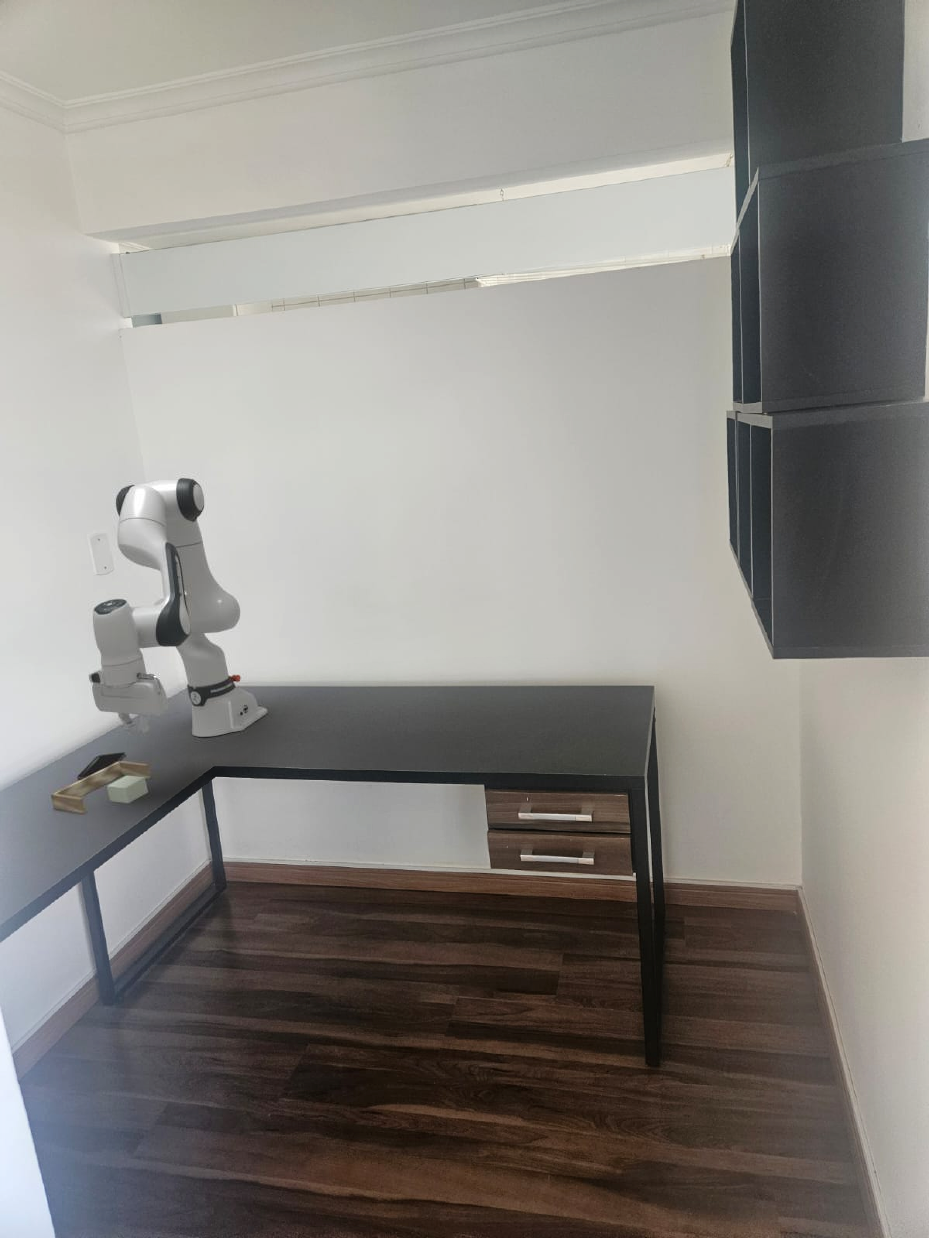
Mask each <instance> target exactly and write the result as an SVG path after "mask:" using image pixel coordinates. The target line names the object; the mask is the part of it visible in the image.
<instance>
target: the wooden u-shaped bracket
mask: <svg viewBox="0 0 929 1238" xmlns="http://www.w3.org/2000/svg"><path fill="white" fill-rule="evenodd" d="M122 776H123V777H125V776H137V777H145V780H146V779H147V780H149V779H151V778H152V775H151V771H150V766H149V764H148V763H142V762H141V763H140V762H132V761H126V760H125V761H124V760H122V761H119V762H116V763H114V764H112V765H110V766H108V767H106V768H104V769H102V770H100V771H98V772H96V773H94V774H92V775H90V776H88V777H86V778H84V779H82V780H78V781H76V782H74V783H71V784H70V785H68V786H66V787H64V788H61V789H60V790H58V791H55V792H54V793H52V794H50V798H51V801H52V806H53V809H54V810H55V809H56V810H60V811H66V812H73V813H76V814H77V813H78V814H85V813H87V811H86V804H85V802H84V798H83V796H85V795H86V794H88V793H90V792H92V791H94V790H97V789H99V788H100V787H102V786H104V785H107V784H108V783H110V782H111V781H114V780H116V779H117V778H120V777H122Z"/></svg>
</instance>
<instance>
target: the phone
mask: <svg viewBox="0 0 929 1238" xmlns="http://www.w3.org/2000/svg"><path fill="white" fill-rule="evenodd" d="M125 758H126V752H124V751H123V752H116V753H108V754H101V755H97V756H96V757H94V758H93V759H92V761H90V763H89V764H88V765H87V766H86V767H85V768H84V769H83V770H82V771H81V772H80V773H79V774H78V775H77V777H76V778H77V780H78V781H80V780H82V779H84V778H86V777H88V776H90V775H92V774H94V773H96V772H98V771H100V770H102V769H104V768H106V767H108V766H110V765H112V764H114V763H116V762H119V761H124V759H125Z"/></svg>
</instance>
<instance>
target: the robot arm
mask: <svg viewBox="0 0 929 1238" xmlns="http://www.w3.org/2000/svg"><path fill="white" fill-rule="evenodd" d="M115 508H116V511H117V515H118V517H119V520H118V527H117V535H116V537H117V538H116V539H117V540H116V541H117V547H118V549H119V551H120V553H121V554H122V555H123V556H124V557H125V558H126V559H127V560H129V561H130V562H132V563H134V564H136V565H139V566H142V567H146V568H150V569H152V570H153V569H154V570H157V571H159V572H160V574H161V582H162V583H161V584H162V591H163V592H162V593H163V598H160V599H158V600H156V601H155V602H154V604H153V605H146V606H135V607H134V606H131V605H130V604H129V602H128V601H127V600H126V599H123V598H116V599H115V598H114V599H109V600H107V601H104V602H103V601H102V602H100V603H99V604H97V605H96V606H95V607H94V608H93V609H92V627H93V632H94V638H95V639H94V640H95V643H96V644H95V645H96V646H97V649H98V651H99V653H100V665H101V668H100V669H98V670H95V671H94V672H92V673H89V674H88V680H89V682H90V683H91V690H92V696H93V700H94V704H95V706H96V708H97V709H98V711H99V712H102V713H103V712H105V713H115V714H116V713H117V715H118V718H119V719H120V721H121V722H122V724H124V725H123V726H124V730H125V731H127V732H128V731H129V732H132V731H135V730H136V729H137V728H138V732H139V733H147V732H149V731H150V725H149V722H150V718H151V716H153V717H159V716H161V715H163V714H165V713H167V712H168V711H169V708H170V703H169V700H168V697H167V694H166V691H165V688H164V685H163V684H162V682H161V681H160V679H159V678H158V677H157V676H155V674H153V673H147V668H146V664H145V660H144V655H143V653H142V651H141V649H150V648H158V647H160V648H161V647H163V648H164V647H165V648H166V647H167V648H168V647H175V649H176V650H177V652H178V653H179V656H180V657H181V660H182V664H183V667H184V671H185V676H186V679H187V685H186V687H187V693H188V697H189V699H190V704H191V714H192V715H191V720H192V722H191V723H192V724H191V726H192V728H191V734H192V736H195V737H200V738H204V737H207V738H208V737H217V736H221V735H225V734H229V733H233V732H241V731H244V730H245V729H246V728H247V727H249V726H250V725H252V724H254V723H255V722H256V721H258V720H259V719H261V718H262V717H263V716H265V715H266V714H268V710H267V708H265V707H262V706H258V705H259V704H258V702H257V699H256V697H255V696H254V694H253V693H251V692H249V691H246V690H244V689H242V688H240V687H237V686H236V683H239V682H240V681H241V679H242V678H241V675H240V674H232V675H229V671H228V665H227V661H226V660H227V659H226V655H225V652H224V650H223V649H222V648H221V647H220V646H219V645H217V644H215V643H213V642H212V641H211V640H210V639H209V638H207V636H206V634H213V633H214V634H215V633H220V632H221V633H222V632H225V631H229V630H231V629H234V628H235V627H236V626H237V624H238V623H239V620H240V617H241V607H240V604H239V602H238V600H237V599H236V598H235V597H234V596H233V595H232V594H230V593H229V592H227V591H226V590H225V589H223V587H222V586H220V584H219V583H218V582H217V580H216V579H215V578H214V576H213V574H212V572H211V569H210V567H209V564H208V560H207V555H206V552H205V547H204V540H203V537H202V532H201V529H200V525H199V522H198V518H199V517H200V516H201V514H202V513H203V511H204V508H205V496H204V491H203V489H202V487H201V485H200V484H199V483H198V482H197V481H196V480H195V479H193V478H186V477H181V478H177V479H175V478H174V479H172V478H171V479H169V478H168V479H156V480H155V481H149V482H144V483H140V484H136V485H135V484H131V485H128V486H124V487H123V488H121V489H120V490H119V491H118V493H117V494H116V497H115ZM131 715H138V719H140V724H137V726H136V722H135V721H133V720H132V718H131V717H130V716H131Z"/></svg>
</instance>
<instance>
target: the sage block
mask: <svg viewBox="0 0 929 1238" xmlns="http://www.w3.org/2000/svg"><path fill="white" fill-rule="evenodd" d="M106 788H107V792H108V797H109V802H114V803H115V802H116V803H121V804H130V803H132V802H134V801H136V800H137V799H138V798H139V799H140V797H143V796H145V795H146V794H148V793H149V790H148V787H147V781H146V778H145V777H137V776H123V777H121V778H119V779H117V780H115V781H114V782H112V783H110V784H108V785H107V786H106Z"/></svg>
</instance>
